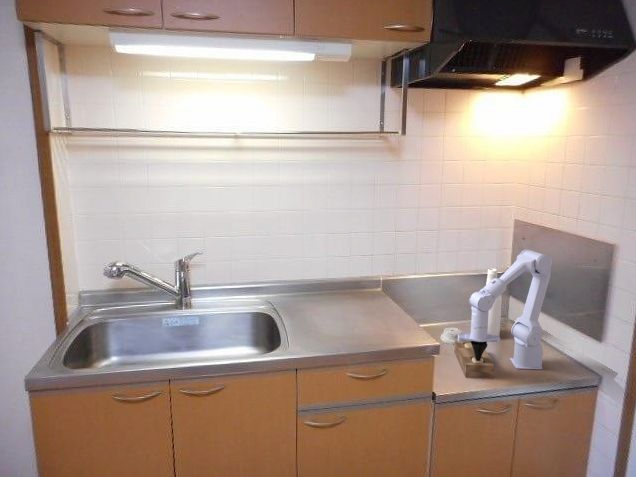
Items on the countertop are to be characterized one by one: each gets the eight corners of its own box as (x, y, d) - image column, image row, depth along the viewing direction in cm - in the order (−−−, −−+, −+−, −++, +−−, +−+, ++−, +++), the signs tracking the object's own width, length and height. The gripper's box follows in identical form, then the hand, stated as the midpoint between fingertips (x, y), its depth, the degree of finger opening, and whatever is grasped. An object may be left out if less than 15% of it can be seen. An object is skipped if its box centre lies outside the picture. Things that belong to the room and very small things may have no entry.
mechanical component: (468, 338, 197) (446, 333, 203) (468, 329, 196) (446, 323, 202) (458, 347, 190) (436, 341, 196) (459, 337, 189) (436, 331, 195)
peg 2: (481, 368, 170) (481, 357, 169) (483, 374, 166) (484, 362, 165) (470, 368, 171) (470, 356, 170) (472, 374, 167) (473, 362, 166)
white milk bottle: (484, 329, 206) (487, 265, 199) (503, 335, 199) (507, 269, 193) (474, 335, 200) (477, 269, 193) (493, 341, 194) (497, 273, 187)
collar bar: (479, 352, 184) (480, 341, 183) (493, 378, 164) (494, 365, 163) (454, 352, 185) (454, 340, 184) (465, 377, 165) (466, 364, 164)
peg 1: (473, 354, 182) (473, 342, 181) (475, 358, 178) (476, 347, 177) (463, 353, 182) (463, 342, 181) (465, 358, 179) (465, 347, 178)
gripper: (496, 321, 168) (494, 354, 171) (456, 320, 169) (455, 354, 172) (502, 328, 161) (500, 364, 164) (460, 328, 162) (459, 363, 165)
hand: (477, 359), depth 168 cm, fingers closed, pressing on peg 2
